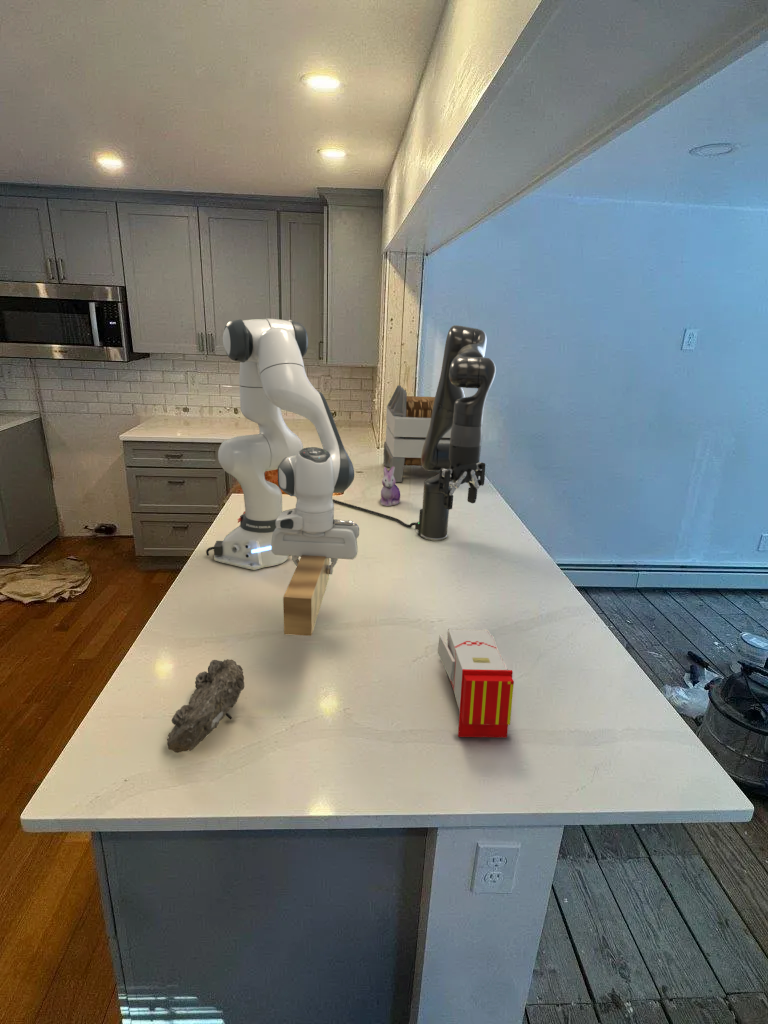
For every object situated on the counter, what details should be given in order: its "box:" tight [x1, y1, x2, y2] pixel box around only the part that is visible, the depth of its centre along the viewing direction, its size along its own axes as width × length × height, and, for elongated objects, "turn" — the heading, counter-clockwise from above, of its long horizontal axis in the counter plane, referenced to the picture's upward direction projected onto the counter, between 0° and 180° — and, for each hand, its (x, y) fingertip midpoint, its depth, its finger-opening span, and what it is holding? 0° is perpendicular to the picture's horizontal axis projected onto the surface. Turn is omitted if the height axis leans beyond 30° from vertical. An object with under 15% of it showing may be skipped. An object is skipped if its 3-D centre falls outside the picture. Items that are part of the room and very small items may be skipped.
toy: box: [437, 628, 515, 738], centre depth 117 cm, size 12×13×30 cm
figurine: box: [379, 466, 401, 507], centre depth 228 cm, size 9×10×15 cm
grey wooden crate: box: [383, 384, 455, 483], centre depth 268 cm, size 34×33×41 cm
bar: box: [282, 555, 330, 637], centre depth 127 cm, size 26×6×9 cm, turn 177°
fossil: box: [166, 658, 245, 754], centre depth 106 cm, size 22×10×15 cm
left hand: (314, 572), depth 136 cm, fingers closed on bar, 5 cm apart
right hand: (459, 505), depth 142 cm, fingers open, 8 cm apart
